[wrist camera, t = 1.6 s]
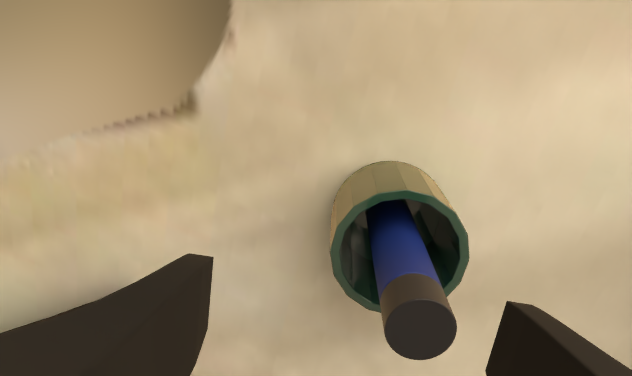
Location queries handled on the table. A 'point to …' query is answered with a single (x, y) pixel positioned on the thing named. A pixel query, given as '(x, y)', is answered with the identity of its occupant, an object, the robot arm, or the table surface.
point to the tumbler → (428, 213)
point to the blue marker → (408, 285)
